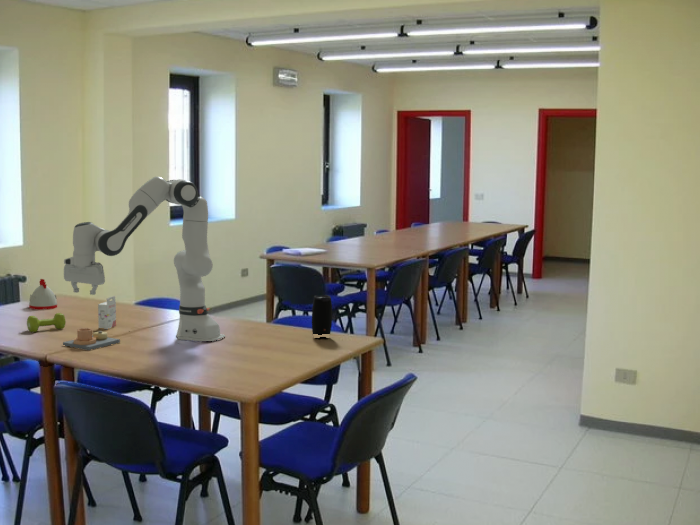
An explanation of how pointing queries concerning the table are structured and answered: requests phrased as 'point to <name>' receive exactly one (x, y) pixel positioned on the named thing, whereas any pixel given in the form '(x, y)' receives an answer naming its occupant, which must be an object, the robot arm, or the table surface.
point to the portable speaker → (322, 315)
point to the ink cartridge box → (107, 313)
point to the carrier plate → (100, 341)
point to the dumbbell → (46, 322)
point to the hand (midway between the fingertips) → (84, 293)
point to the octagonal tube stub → (84, 337)
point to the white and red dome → (43, 297)
